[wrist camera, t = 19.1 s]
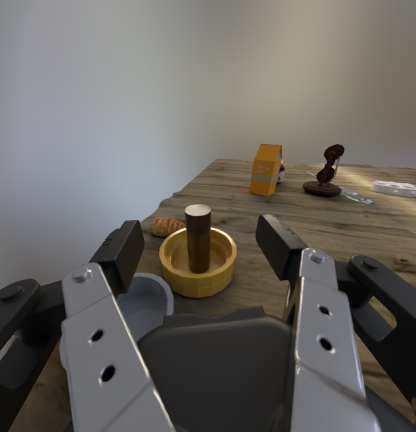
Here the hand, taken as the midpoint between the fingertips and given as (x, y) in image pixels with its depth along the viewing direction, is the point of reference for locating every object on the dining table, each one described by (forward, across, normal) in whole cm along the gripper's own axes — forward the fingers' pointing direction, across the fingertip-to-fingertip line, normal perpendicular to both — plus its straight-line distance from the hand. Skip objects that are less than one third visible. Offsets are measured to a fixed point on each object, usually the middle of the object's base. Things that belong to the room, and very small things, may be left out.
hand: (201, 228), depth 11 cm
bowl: (+15, 0, +20) cm, 25 cm away
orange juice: (+57, -32, +20) cm, 68 cm away
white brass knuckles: (+51, -94, +20) cm, 109 cm away
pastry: (+29, +8, +20) cm, 36 cm away
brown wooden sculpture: (+54, -59, +20) cm, 82 cm away
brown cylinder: (+15, 0, +19) cm, 24 cm away
